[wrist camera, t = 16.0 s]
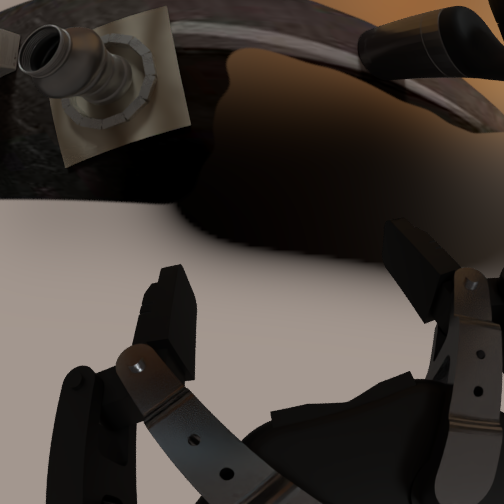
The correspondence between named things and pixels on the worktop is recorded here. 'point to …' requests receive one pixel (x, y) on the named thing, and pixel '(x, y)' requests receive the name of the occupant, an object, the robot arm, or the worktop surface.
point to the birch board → (129, 93)
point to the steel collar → (137, 104)
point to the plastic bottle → (74, 65)
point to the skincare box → (8, 51)
